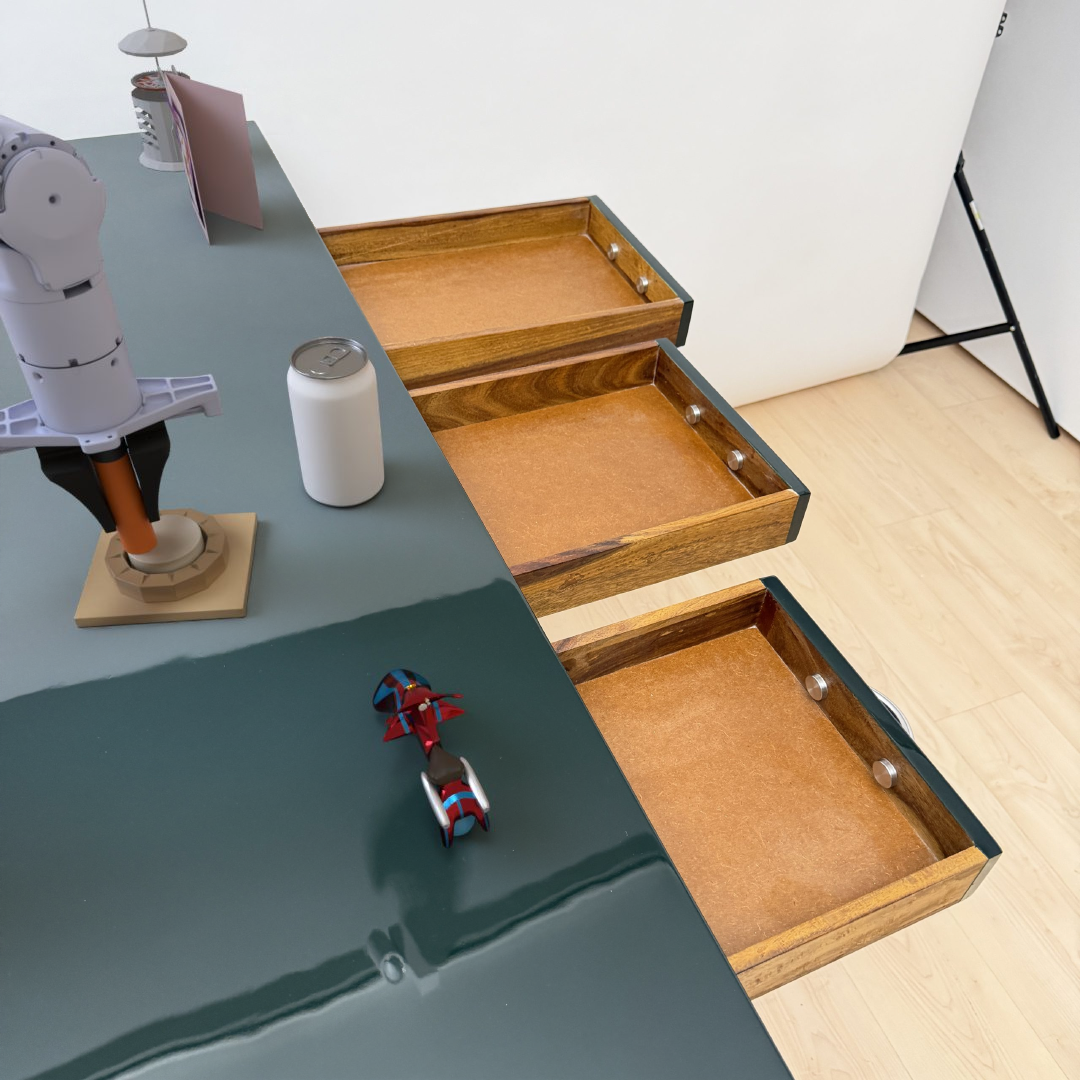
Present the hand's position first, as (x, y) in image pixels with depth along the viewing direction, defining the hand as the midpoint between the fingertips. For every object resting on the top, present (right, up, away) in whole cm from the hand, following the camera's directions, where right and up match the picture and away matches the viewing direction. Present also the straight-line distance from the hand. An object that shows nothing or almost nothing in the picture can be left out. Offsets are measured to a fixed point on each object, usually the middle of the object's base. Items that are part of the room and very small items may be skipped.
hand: (130, 518), depth 60 cm
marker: (0, -2, +2) cm, 2 cm away
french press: (-20, +49, +59) cm, 79 cm away
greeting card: (-10, +36, +46) cm, 60 cm away
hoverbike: (+21, -15, -6) cm, 27 cm away
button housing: (+1, -4, +4) cm, 6 cm away
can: (+12, +3, +13) cm, 17 cm away
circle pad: (+1, -2, +3) cm, 4 cm away
